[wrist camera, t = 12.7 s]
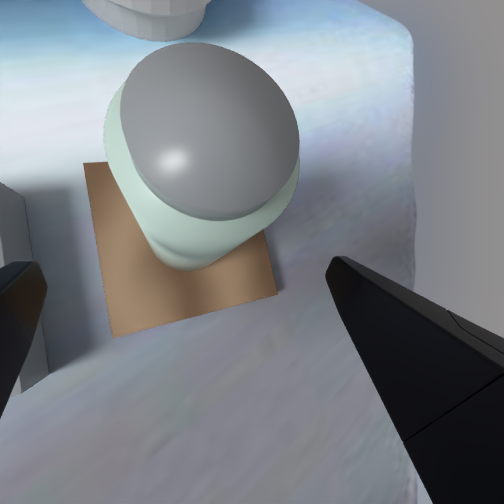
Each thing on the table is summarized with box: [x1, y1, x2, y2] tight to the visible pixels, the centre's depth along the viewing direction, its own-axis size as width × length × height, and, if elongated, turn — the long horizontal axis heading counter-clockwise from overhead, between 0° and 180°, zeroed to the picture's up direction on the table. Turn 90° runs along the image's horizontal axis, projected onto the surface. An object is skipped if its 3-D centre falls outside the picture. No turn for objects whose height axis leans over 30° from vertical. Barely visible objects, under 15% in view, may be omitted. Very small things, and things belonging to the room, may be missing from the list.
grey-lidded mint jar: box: [104, 43, 300, 272], centre depth 12 cm, size 6×6×13 cm
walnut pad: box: [83, 162, 278, 338], centre depth 19 cm, size 12×12×1 cm
